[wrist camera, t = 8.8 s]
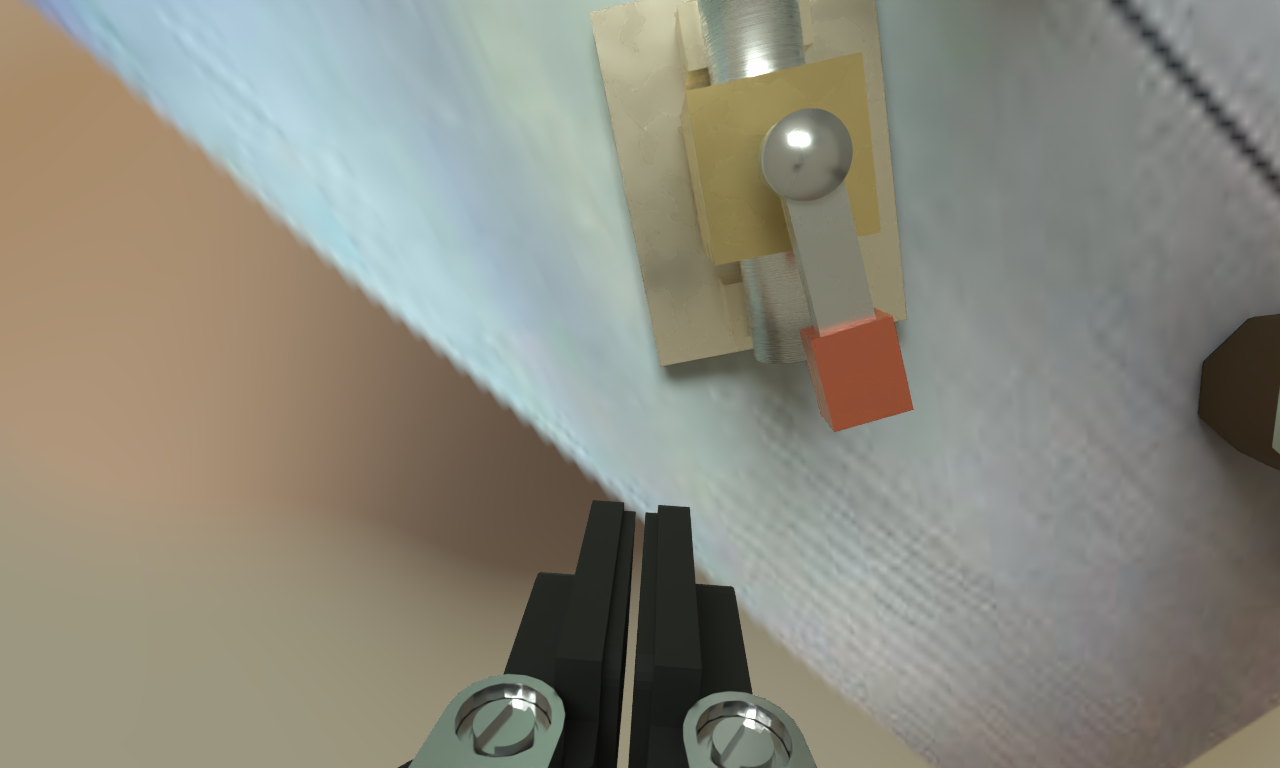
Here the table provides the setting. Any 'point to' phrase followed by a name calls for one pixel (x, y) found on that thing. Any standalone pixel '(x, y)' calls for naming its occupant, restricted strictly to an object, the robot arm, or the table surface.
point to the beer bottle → (1246, 389)
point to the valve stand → (740, 160)
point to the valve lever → (833, 272)
